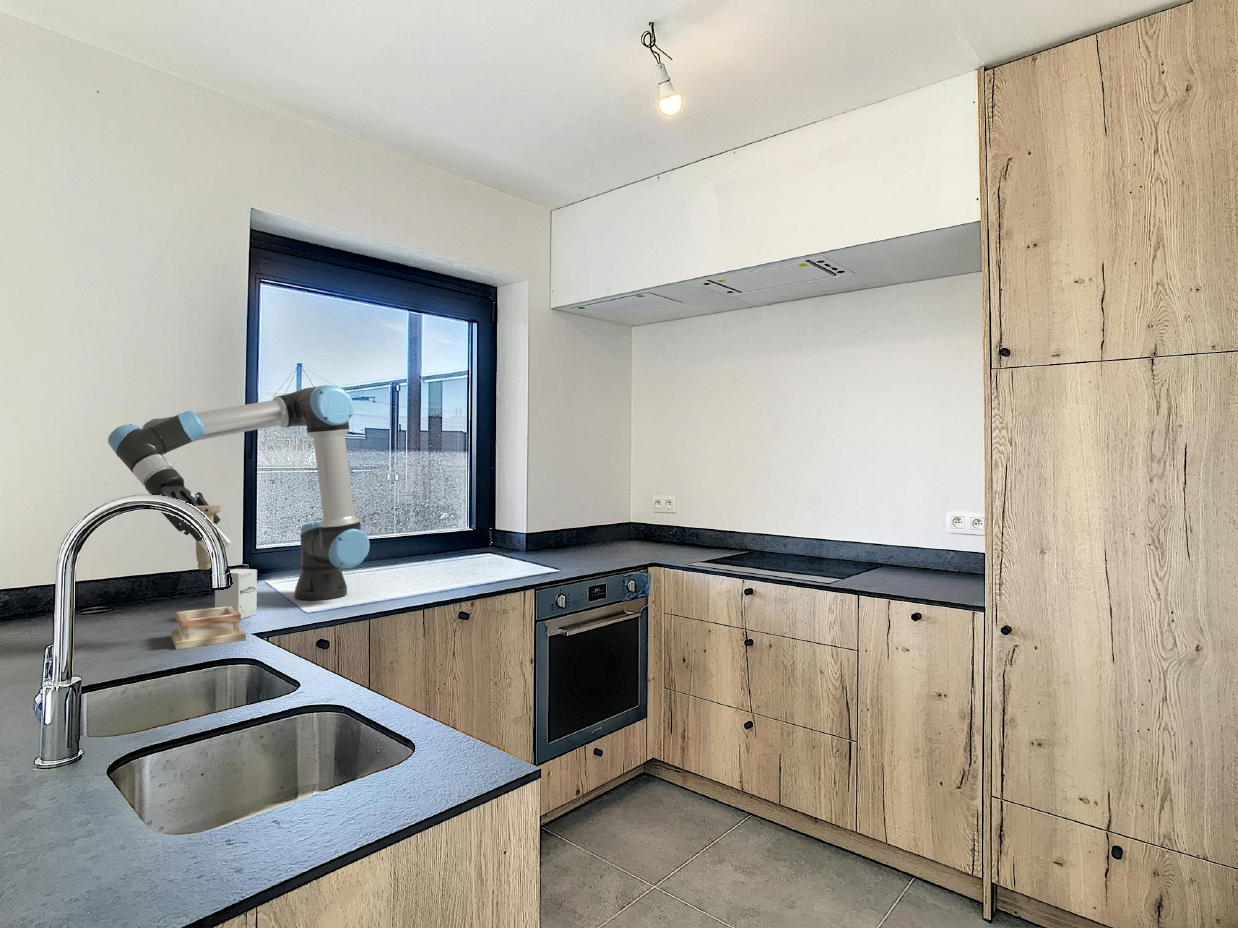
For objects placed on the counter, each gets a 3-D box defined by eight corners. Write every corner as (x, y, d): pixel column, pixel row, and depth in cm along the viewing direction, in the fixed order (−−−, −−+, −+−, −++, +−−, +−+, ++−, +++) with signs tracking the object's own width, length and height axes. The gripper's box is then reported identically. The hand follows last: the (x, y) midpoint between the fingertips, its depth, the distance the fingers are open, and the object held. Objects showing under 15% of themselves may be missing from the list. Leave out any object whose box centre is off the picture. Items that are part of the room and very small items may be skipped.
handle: (189, 568, 166) (188, 506, 165) (219, 566, 169) (218, 504, 169) (191, 571, 162) (190, 507, 161) (222, 568, 166) (222, 506, 165)
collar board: (236, 628, 176) (236, 604, 176) (245, 639, 164) (245, 614, 164) (170, 636, 167) (170, 611, 167) (176, 649, 156) (176, 622, 156)
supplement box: (238, 620, 184) (238, 573, 183) (213, 619, 185) (213, 572, 185) (257, 614, 191) (257, 568, 191) (234, 613, 192) (234, 567, 192)
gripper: (178, 487, 176) (235, 553, 173) (119, 490, 160) (181, 564, 157) (196, 466, 175) (254, 532, 172) (138, 467, 159) (201, 541, 156)
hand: (219, 547), depth 165 cm, fingers closed on handle, 4 cm apart
